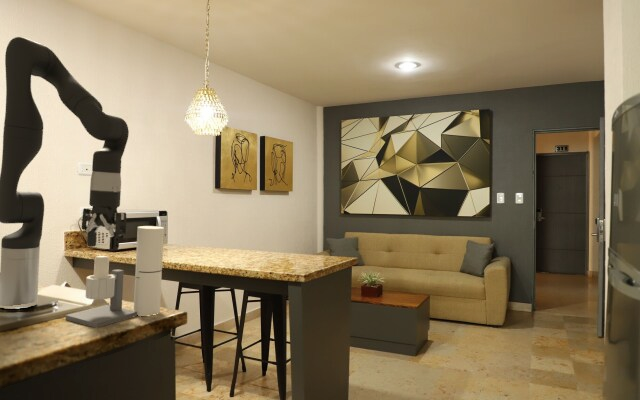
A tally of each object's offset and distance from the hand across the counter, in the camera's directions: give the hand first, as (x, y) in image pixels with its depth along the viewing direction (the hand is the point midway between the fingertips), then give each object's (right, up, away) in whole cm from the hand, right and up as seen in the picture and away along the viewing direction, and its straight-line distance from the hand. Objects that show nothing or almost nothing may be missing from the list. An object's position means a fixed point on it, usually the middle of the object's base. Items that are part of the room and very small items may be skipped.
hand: (102, 248), depth 122 cm
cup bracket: (-1, -19, +1) cm, 19 cm away
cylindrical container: (+9, -20, +8) cm, 23 cm away
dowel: (-1, -12, 0) cm, 12 cm away
